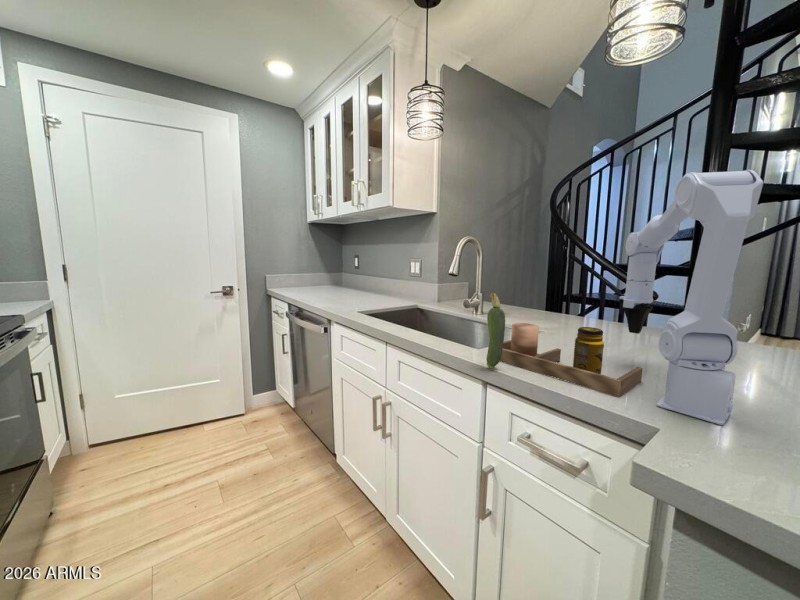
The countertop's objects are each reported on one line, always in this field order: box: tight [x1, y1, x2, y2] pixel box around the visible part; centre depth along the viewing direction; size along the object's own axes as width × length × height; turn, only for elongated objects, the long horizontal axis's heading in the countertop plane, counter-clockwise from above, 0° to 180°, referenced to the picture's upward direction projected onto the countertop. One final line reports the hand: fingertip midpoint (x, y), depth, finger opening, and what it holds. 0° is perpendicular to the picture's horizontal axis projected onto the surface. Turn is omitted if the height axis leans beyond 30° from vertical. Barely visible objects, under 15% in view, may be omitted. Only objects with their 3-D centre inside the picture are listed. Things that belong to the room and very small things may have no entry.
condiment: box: [572, 326, 605, 375], centre depth 79 cm, size 7×8×12 cm
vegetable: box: [486, 292, 506, 370], centre depth 83 cm, size 4×4×20 cm
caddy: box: [499, 322, 643, 398], centre depth 84 cm, size 33×14×10 cm, turn 38°
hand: (634, 332), depth 85 cm, fingers closed
